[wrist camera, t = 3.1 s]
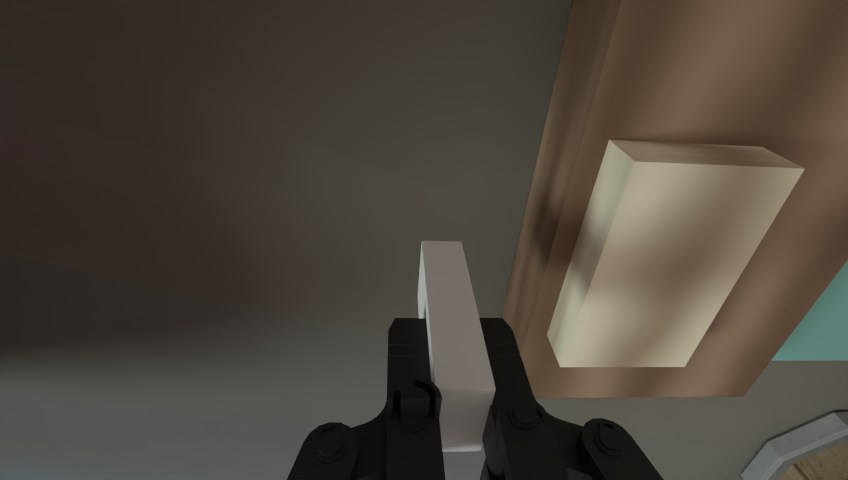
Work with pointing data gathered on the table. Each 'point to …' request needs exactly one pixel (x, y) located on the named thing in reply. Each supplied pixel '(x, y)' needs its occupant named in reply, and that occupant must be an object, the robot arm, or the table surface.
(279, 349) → the table surface
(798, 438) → the tankard
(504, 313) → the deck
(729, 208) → the tile
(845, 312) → the mat
